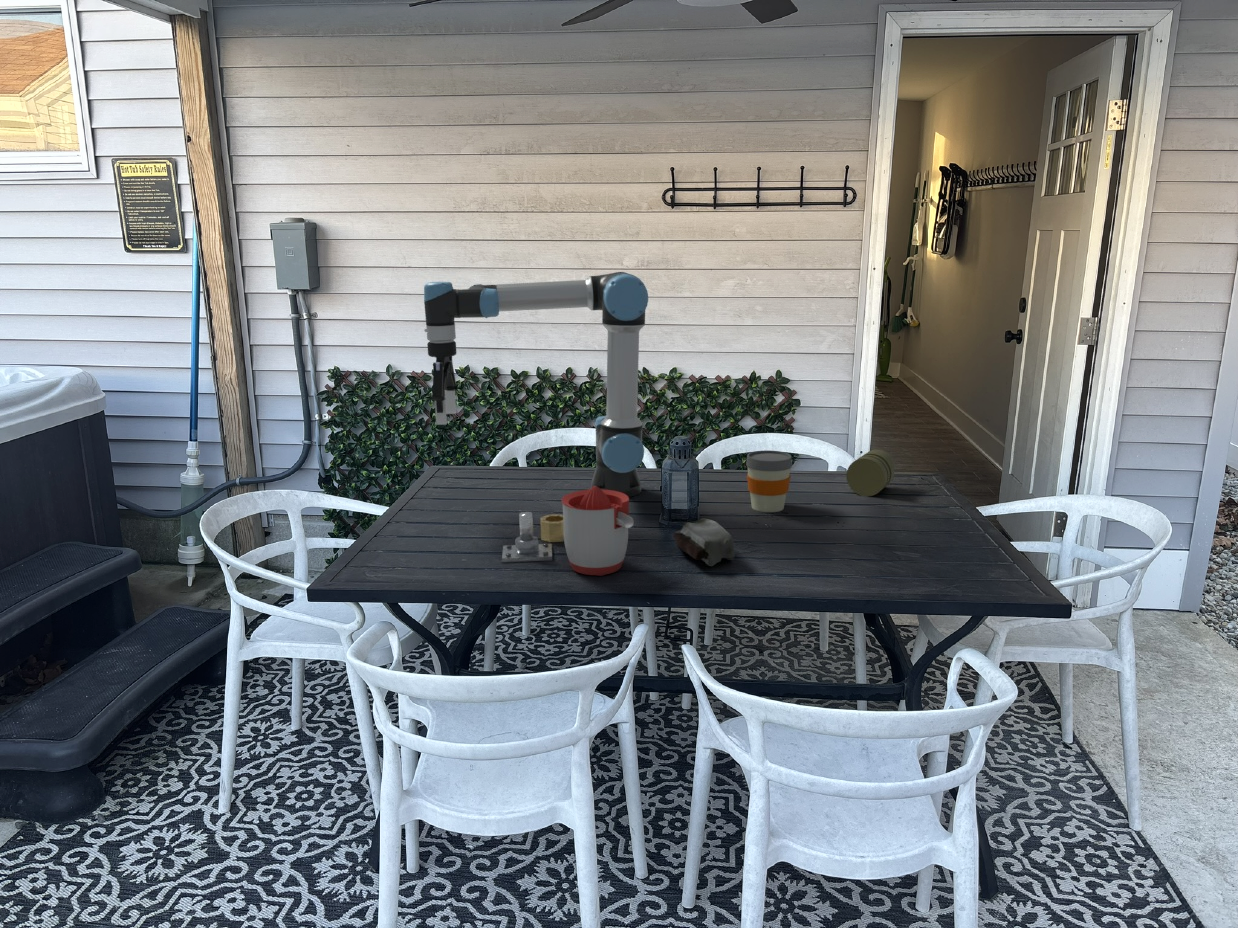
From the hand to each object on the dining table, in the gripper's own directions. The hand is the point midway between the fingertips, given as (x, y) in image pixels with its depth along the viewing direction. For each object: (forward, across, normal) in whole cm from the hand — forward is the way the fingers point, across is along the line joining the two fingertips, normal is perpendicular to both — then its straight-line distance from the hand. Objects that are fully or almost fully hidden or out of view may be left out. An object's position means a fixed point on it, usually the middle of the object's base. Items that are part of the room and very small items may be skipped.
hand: (446, 419), depth 254 cm
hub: (+27, +21, +30) cm, 46 cm away
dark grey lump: (+27, +36, +67) cm, 81 cm away
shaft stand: (+27, +34, +25) cm, 50 cm away
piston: (+27, -18, +121) cm, 125 cm away
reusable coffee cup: (+27, -3, +88) cm, 93 cm away
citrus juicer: (+27, +43, +43) cm, 66 cm away
